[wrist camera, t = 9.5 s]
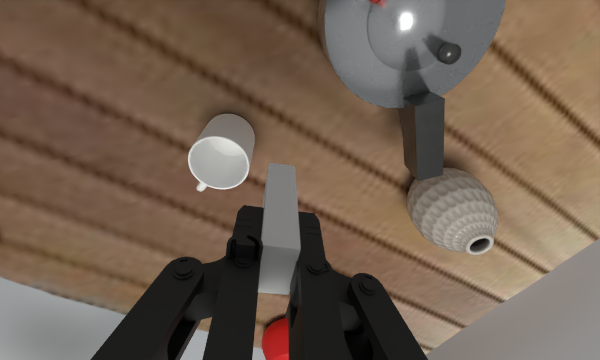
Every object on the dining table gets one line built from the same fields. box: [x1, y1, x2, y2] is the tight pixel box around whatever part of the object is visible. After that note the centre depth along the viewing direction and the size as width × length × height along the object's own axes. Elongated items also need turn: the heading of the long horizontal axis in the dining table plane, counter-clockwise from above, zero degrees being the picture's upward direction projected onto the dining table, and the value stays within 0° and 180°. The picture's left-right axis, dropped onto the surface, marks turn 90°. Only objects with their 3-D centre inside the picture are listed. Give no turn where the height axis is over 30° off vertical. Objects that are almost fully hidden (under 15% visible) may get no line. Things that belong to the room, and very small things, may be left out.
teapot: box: [262, 318, 289, 360], centre depth 73 cm, size 25×16×12 cm, turn 156°
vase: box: [407, 168, 498, 255], centre depth 47 cm, size 13×13×17 cm
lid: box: [323, 0, 506, 181], centre depth 29 cm, size 31×19×5 cm, turn 14°
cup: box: [188, 114, 255, 191], centre depth 43 cm, size 8×12×10 cm
